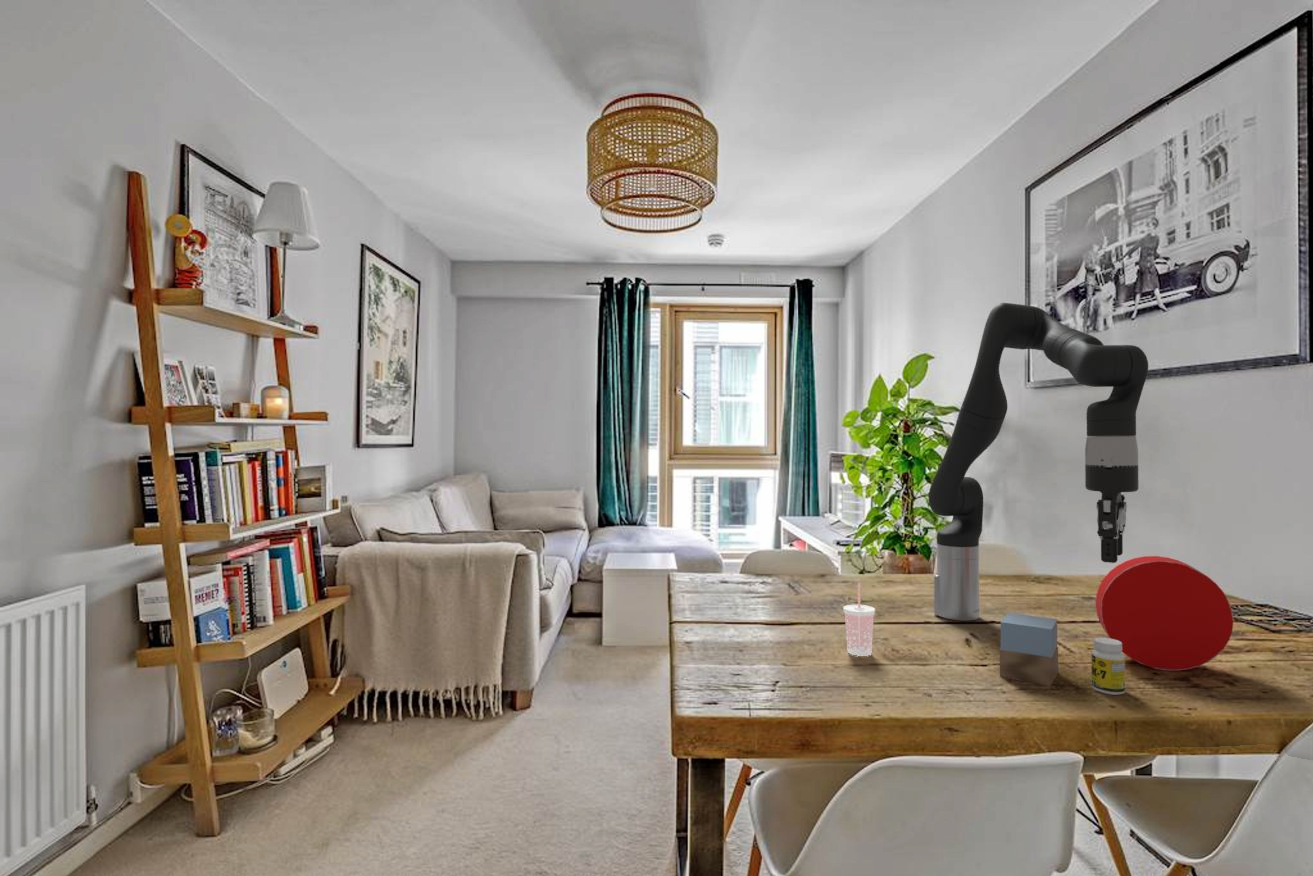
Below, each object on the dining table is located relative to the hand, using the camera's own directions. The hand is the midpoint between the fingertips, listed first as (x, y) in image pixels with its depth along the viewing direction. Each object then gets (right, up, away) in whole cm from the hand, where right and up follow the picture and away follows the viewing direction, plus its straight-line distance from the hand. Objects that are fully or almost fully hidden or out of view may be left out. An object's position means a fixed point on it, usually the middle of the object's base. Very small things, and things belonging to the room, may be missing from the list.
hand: (1112, 558), depth 117 cm
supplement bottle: (-1, -23, 0) cm, 23 cm away
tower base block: (-10, -23, +8) cm, 26 cm away
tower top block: (-10, -18, +8) cm, 22 cm away
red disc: (+17, -22, +12) cm, 31 cm away
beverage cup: (-37, -23, +21) cm, 48 cm away
